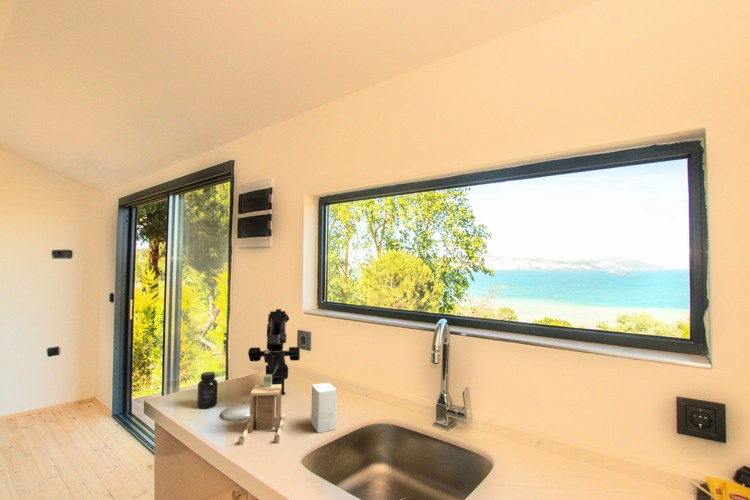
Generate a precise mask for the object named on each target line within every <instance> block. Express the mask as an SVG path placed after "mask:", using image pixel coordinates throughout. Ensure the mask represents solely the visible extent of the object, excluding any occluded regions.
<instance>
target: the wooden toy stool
mask: <svg viewBox="0 0 750 500" xmlns="http://www.w3.org/2000/svg"><path fill="white" fill-rule="evenodd" d="M281 388H282V384H273V385H272V374H267V375H266V374H264V376H263V384H255V385H254V386H253V388H252V390H251V392H250V393H249V394H250V403H249V404H250V419H249V420H250V426H249V432H250V433H252V432H253V427H256V426H255V423H257V396H258V395H276V396H275V417H276V419H275V420H274V428H275V429H274V431H277V432H278V429H279V425H280V422H281V416H282V395H281ZM249 432H248V433H249Z"/></svg>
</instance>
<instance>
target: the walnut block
mask: <svg viewBox="0 0 750 500" xmlns="http://www.w3.org/2000/svg"><path fill="white" fill-rule="evenodd" d="M275 417H276V396H275V395H257V420H256V431H267V430H268V431H269V430H270V431H271V430H273V429H274V427H275Z"/></svg>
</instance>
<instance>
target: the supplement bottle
mask: <svg viewBox="0 0 750 500" xmlns="http://www.w3.org/2000/svg"><path fill="white" fill-rule="evenodd" d="M215 378H216V373H215V372H214V371H206V372H202V373H201V374H200V381H198V383H197V400H196V402H197V403H196V404H197V408H198V409H202V410H206V409H211V408H213V407H214V408H215V406H217V404H218V388H219V387H218V383H219V382H218V380H217V379H215Z"/></svg>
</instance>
